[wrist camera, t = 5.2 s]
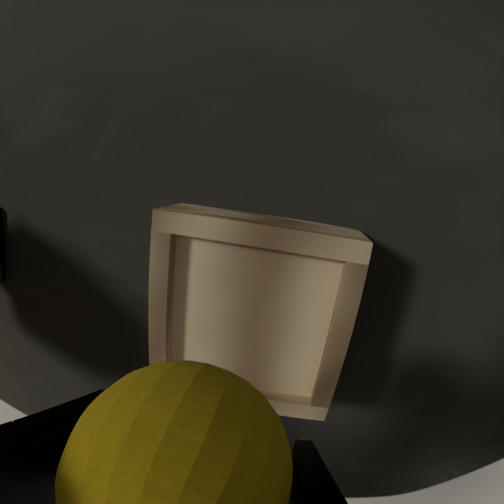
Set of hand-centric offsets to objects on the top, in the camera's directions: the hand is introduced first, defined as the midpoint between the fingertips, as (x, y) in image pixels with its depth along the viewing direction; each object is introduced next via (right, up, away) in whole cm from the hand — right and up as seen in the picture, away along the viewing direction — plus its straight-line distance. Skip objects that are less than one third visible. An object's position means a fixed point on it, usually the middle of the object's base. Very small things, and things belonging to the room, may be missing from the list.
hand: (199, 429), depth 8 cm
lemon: (0, +1, +2) cm, 2 cm away
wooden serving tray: (+2, +2, +10) cm, 11 cm away
